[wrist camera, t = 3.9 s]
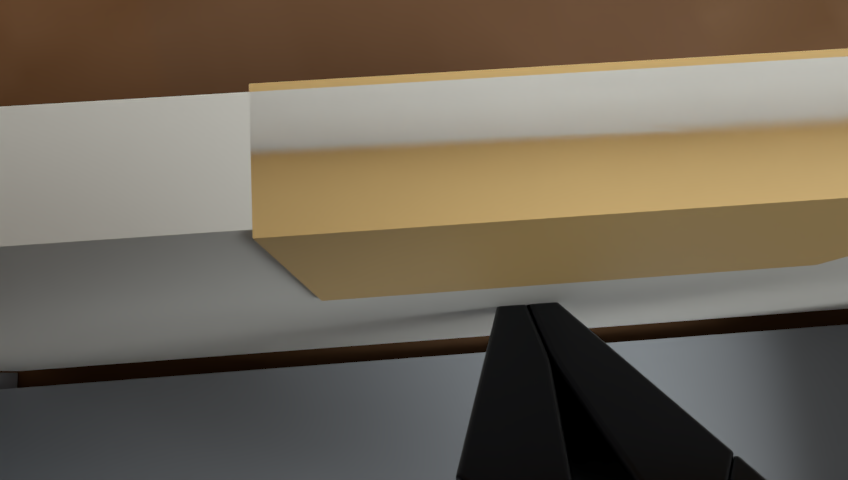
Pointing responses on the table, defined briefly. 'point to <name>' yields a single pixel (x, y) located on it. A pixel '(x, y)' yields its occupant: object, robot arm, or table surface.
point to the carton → (412, 414)
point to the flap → (421, 207)
